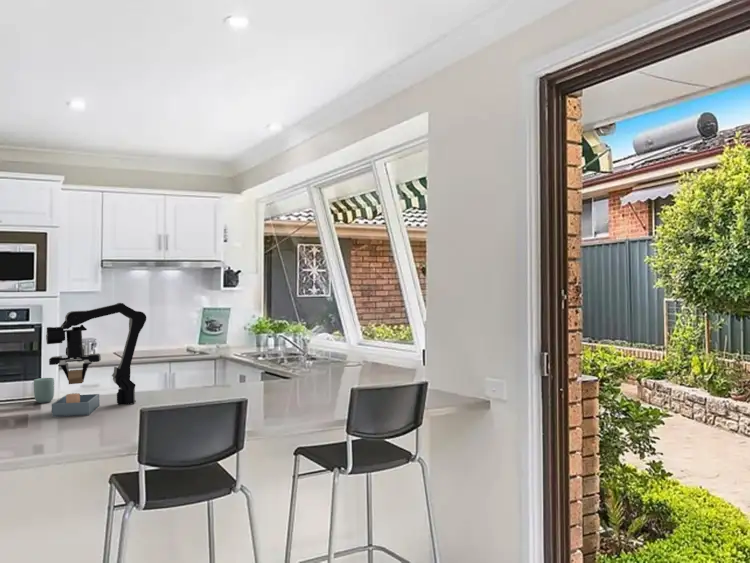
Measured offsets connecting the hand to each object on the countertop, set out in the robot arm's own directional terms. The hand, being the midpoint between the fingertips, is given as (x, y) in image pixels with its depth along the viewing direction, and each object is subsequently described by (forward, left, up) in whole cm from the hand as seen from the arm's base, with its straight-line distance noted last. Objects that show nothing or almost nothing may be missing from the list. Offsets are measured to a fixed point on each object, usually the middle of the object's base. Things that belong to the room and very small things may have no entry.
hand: (76, 380), depth 276 cm
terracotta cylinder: (-1, +11, -11) cm, 16 cm away
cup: (+18, -19, -12) cm, 29 cm away
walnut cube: (0, 0, -1) cm, 1 cm away
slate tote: (-1, +6, -12) cm, 13 cm away
